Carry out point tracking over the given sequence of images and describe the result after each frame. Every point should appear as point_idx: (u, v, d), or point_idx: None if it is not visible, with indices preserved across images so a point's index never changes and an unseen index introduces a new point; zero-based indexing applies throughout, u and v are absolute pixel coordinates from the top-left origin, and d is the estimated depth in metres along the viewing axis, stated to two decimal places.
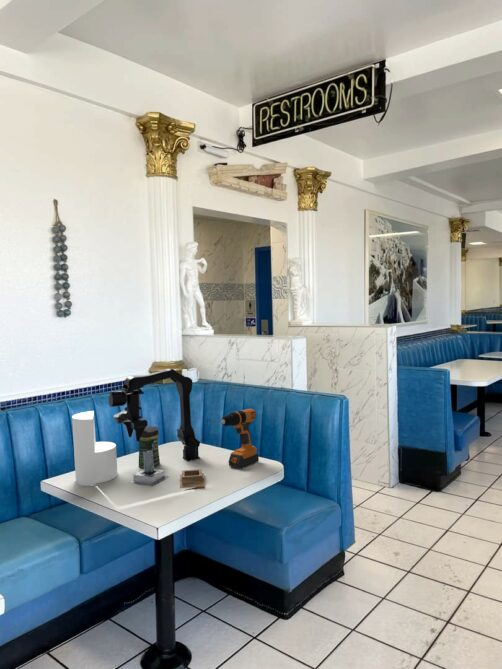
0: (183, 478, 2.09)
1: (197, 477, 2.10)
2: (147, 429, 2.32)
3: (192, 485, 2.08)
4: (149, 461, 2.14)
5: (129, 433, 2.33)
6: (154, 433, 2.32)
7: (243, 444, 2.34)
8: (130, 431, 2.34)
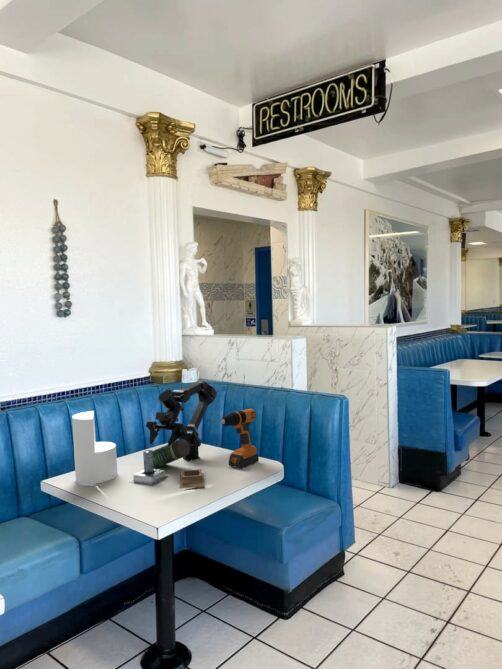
0: (183, 478, 2.09)
1: (197, 477, 2.10)
2: (182, 450, 2.25)
3: (192, 485, 2.08)
4: (149, 461, 2.14)
5: (152, 440, 2.26)
6: (183, 456, 2.27)
7: (243, 444, 2.34)
8: (153, 438, 2.26)
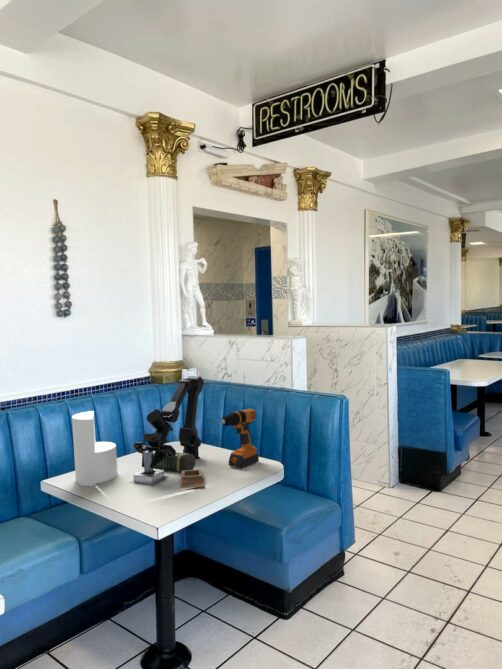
0: (183, 478, 2.09)
1: (197, 477, 2.10)
2: (188, 467, 2.24)
3: (192, 485, 2.08)
4: (149, 461, 2.14)
5: None
6: None
7: (243, 444, 2.34)
8: None
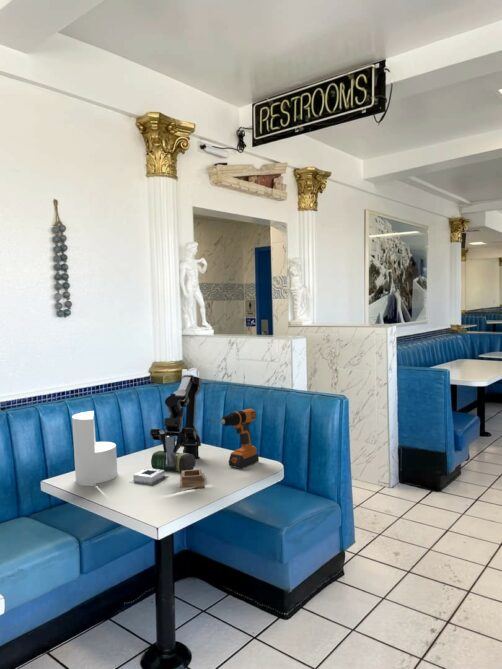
0: (183, 478, 2.09)
1: (197, 477, 2.10)
2: (188, 467, 2.24)
3: (192, 485, 2.08)
4: (173, 446, 2.11)
5: (165, 448, 2.13)
6: None
7: (243, 444, 2.34)
8: None
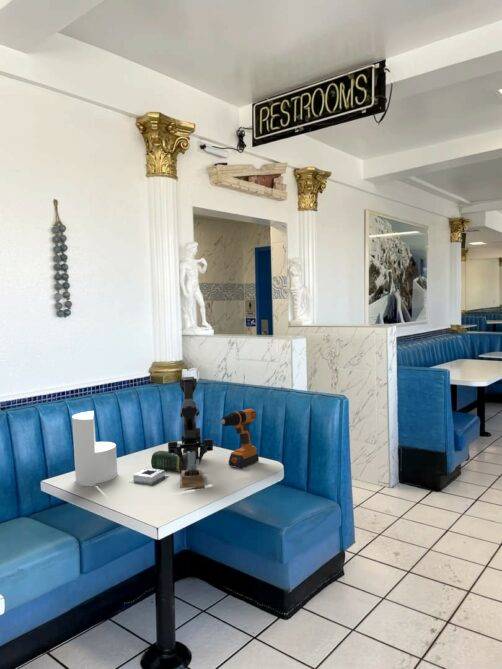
0: (183, 478, 2.09)
1: (197, 477, 2.10)
2: None
3: (192, 485, 2.08)
4: (195, 460, 2.12)
5: None
6: None
7: (243, 444, 2.34)
8: None
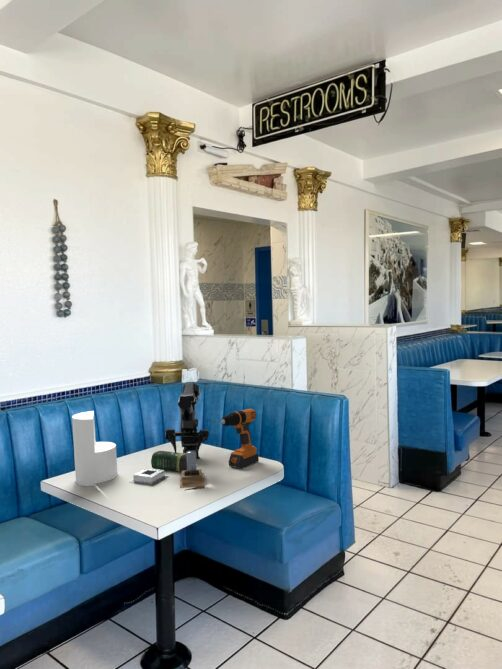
0: (183, 478, 2.09)
1: (197, 477, 2.10)
2: None
3: (192, 485, 2.08)
4: (195, 461, 2.12)
5: None
6: None
7: (243, 444, 2.34)
8: None
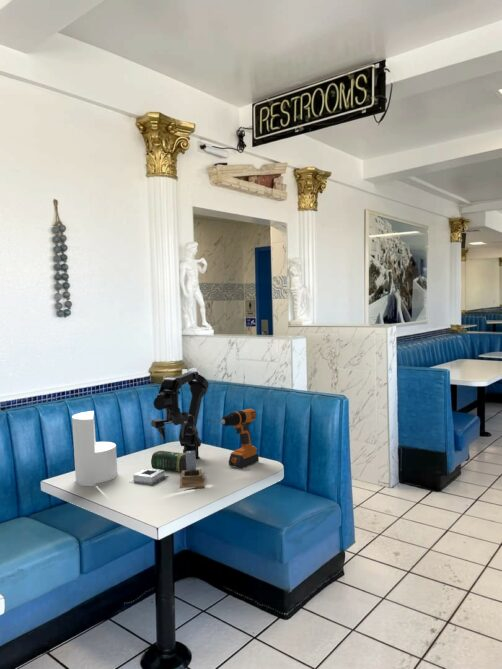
0: (183, 478, 2.09)
1: (197, 477, 2.10)
2: None
3: (192, 485, 2.08)
4: (194, 461, 2.12)
5: None
6: None
7: (243, 444, 2.34)
8: None
